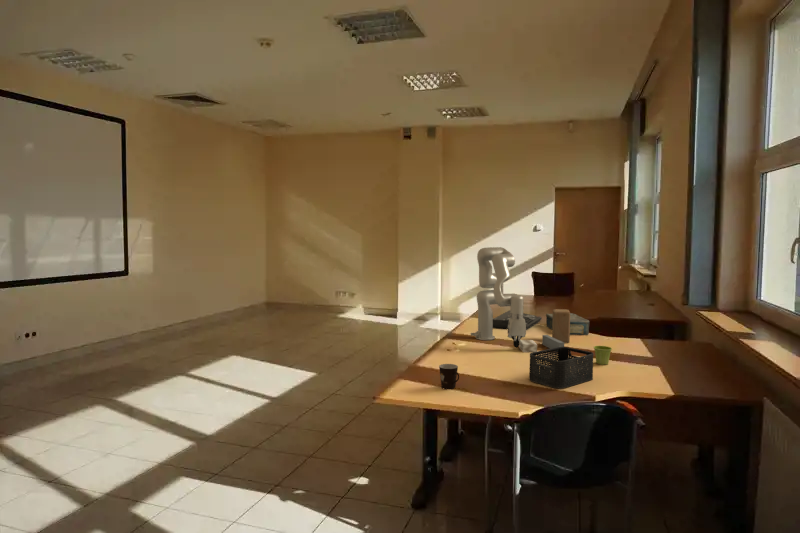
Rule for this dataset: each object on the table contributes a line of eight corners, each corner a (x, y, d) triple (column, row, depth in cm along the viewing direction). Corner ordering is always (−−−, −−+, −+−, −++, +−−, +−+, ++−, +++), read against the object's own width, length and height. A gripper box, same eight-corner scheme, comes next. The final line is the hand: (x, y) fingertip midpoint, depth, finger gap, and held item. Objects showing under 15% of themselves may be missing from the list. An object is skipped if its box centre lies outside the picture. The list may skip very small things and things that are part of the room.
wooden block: (569, 343, 340) (570, 311, 338) (553, 342, 342) (553, 311, 340) (568, 340, 350) (568, 309, 348) (551, 339, 352) (552, 308, 350)
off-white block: (523, 352, 317) (523, 344, 317) (519, 348, 329) (519, 339, 329) (536, 352, 317) (537, 344, 317) (532, 348, 329) (532, 339, 329)
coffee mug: (437, 384, 255) (437, 364, 254) (455, 384, 256) (455, 363, 255) (441, 392, 244) (441, 370, 243) (460, 392, 244) (460, 370, 243)
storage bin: (562, 370, 279) (562, 345, 278) (595, 379, 264) (596, 352, 263) (526, 380, 262) (526, 353, 260) (559, 390, 246) (560, 361, 245)
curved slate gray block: (559, 353, 315) (559, 342, 315) (542, 344, 337) (542, 335, 336) (564, 352, 316) (564, 342, 315) (546, 344, 337) (546, 334, 337)
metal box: (558, 336, 363) (559, 321, 362) (544, 326, 395) (545, 313, 394) (590, 335, 363) (590, 321, 362) (573, 326, 395) (574, 312, 395)
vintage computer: (528, 331, 376) (528, 320, 376) (488, 329, 389) (488, 317, 389) (541, 322, 414) (541, 311, 414) (505, 320, 427) (504, 310, 427)
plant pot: (612, 362, 294) (612, 346, 294) (611, 366, 286) (611, 350, 285) (593, 360, 298) (594, 345, 298) (592, 364, 290) (592, 348, 289)
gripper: (507, 318, 315) (506, 349, 317) (531, 317, 318) (530, 347, 319) (502, 315, 322) (502, 346, 324) (526, 314, 325) (525, 345, 327)
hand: (516, 346), depth 322 cm, fingers closed
